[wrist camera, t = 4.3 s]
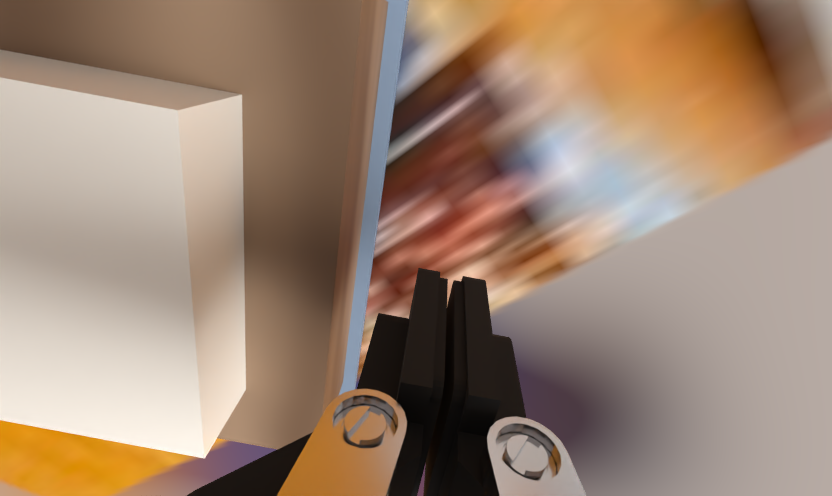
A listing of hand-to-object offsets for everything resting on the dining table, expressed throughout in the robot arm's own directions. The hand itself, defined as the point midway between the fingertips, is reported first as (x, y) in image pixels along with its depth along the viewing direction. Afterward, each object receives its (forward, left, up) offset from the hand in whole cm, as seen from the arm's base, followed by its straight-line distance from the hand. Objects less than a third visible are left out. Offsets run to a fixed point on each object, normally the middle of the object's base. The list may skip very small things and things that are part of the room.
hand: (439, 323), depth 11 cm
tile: (+8, 0, -1) cm, 8 cm away
